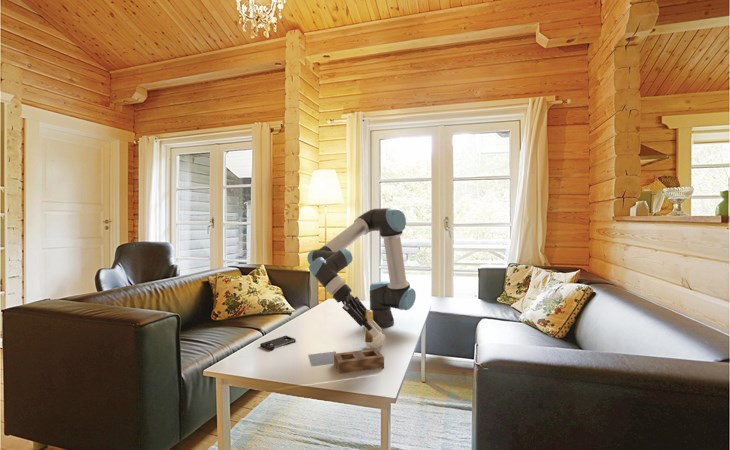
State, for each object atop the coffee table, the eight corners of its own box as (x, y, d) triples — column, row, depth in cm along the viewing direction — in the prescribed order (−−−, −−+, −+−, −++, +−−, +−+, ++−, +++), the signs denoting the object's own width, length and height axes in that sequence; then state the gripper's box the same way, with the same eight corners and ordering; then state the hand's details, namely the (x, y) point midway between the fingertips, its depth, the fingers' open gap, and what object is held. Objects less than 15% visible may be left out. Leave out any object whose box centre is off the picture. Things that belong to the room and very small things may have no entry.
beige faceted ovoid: (377, 350, 146) (392, 345, 155) (373, 328, 148) (388, 324, 158) (362, 352, 151) (377, 347, 160) (358, 331, 153) (373, 327, 163)
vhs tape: (270, 352, 151) (270, 347, 151) (260, 348, 156) (260, 343, 156) (295, 343, 162) (295, 338, 162) (285, 339, 167) (285, 335, 167)
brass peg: (371, 339, 137) (371, 309, 137) (374, 342, 134) (373, 311, 134) (363, 340, 136) (363, 310, 136) (366, 342, 133) (366, 312, 133)
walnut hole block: (377, 359, 141) (376, 348, 141) (384, 368, 132) (384, 356, 132) (334, 364, 136) (334, 353, 136) (338, 374, 127) (338, 362, 127)
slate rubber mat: (335, 352, 149) (335, 351, 149) (341, 363, 137) (341, 362, 137) (308, 355, 145) (308, 354, 145) (311, 367, 134) (311, 366, 134)
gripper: (339, 291, 147) (377, 333, 142) (324, 300, 131) (366, 347, 127) (351, 280, 145) (389, 321, 141) (337, 287, 130) (379, 334, 125)
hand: (378, 333), depth 134 cm, fingers closed on brass peg, 3 cm apart
